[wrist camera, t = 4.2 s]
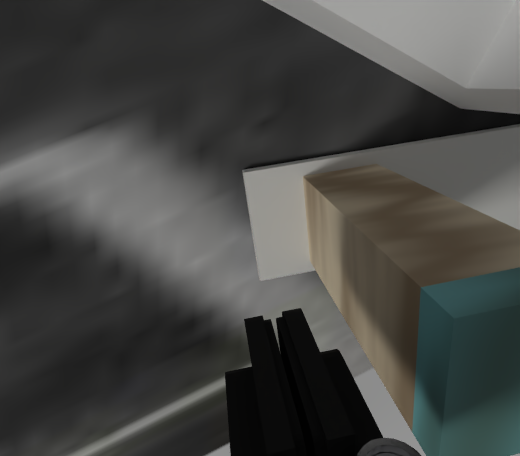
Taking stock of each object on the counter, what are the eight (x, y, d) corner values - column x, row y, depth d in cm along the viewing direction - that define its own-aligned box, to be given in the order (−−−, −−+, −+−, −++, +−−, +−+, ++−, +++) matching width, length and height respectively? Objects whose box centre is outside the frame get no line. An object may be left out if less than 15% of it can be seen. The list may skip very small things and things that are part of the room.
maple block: (376, 163, 18) (629, 281, 7) (376, 248, 20) (576, 438, 9) (302, 176, 18) (454, 318, 7) (309, 260, 20) (436, 473, 9)
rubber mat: (575, 114, 20) (585, 115, 19) (552, 219, 22) (561, 222, 22) (242, 169, 18) (243, 172, 18) (258, 275, 21) (260, 281, 20)
